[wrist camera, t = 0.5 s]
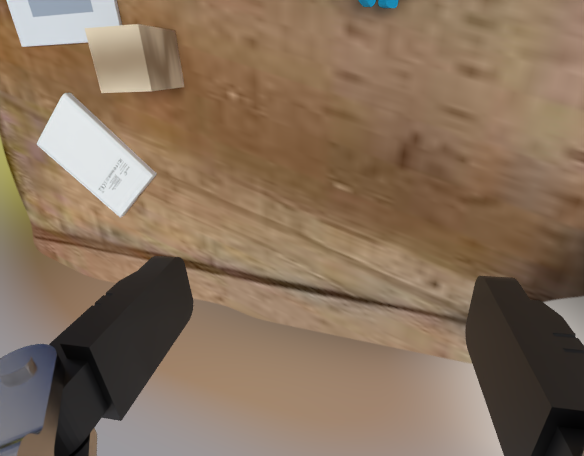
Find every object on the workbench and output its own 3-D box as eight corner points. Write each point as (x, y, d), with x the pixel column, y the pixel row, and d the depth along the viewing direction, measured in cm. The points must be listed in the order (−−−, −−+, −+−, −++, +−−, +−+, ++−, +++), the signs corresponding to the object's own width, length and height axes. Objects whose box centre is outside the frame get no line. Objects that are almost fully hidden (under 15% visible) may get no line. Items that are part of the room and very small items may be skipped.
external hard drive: (74, 91, 38) (159, 172, 40) (46, 142, 41) (126, 214, 44) (62, 92, 36) (152, 176, 39) (35, 145, 40) (118, 219, 42)
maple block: (129, 33, 33) (84, 28, 28) (175, 30, 32) (138, 24, 27) (141, 88, 36) (101, 92, 30) (184, 87, 35) (151, 91, 29)
